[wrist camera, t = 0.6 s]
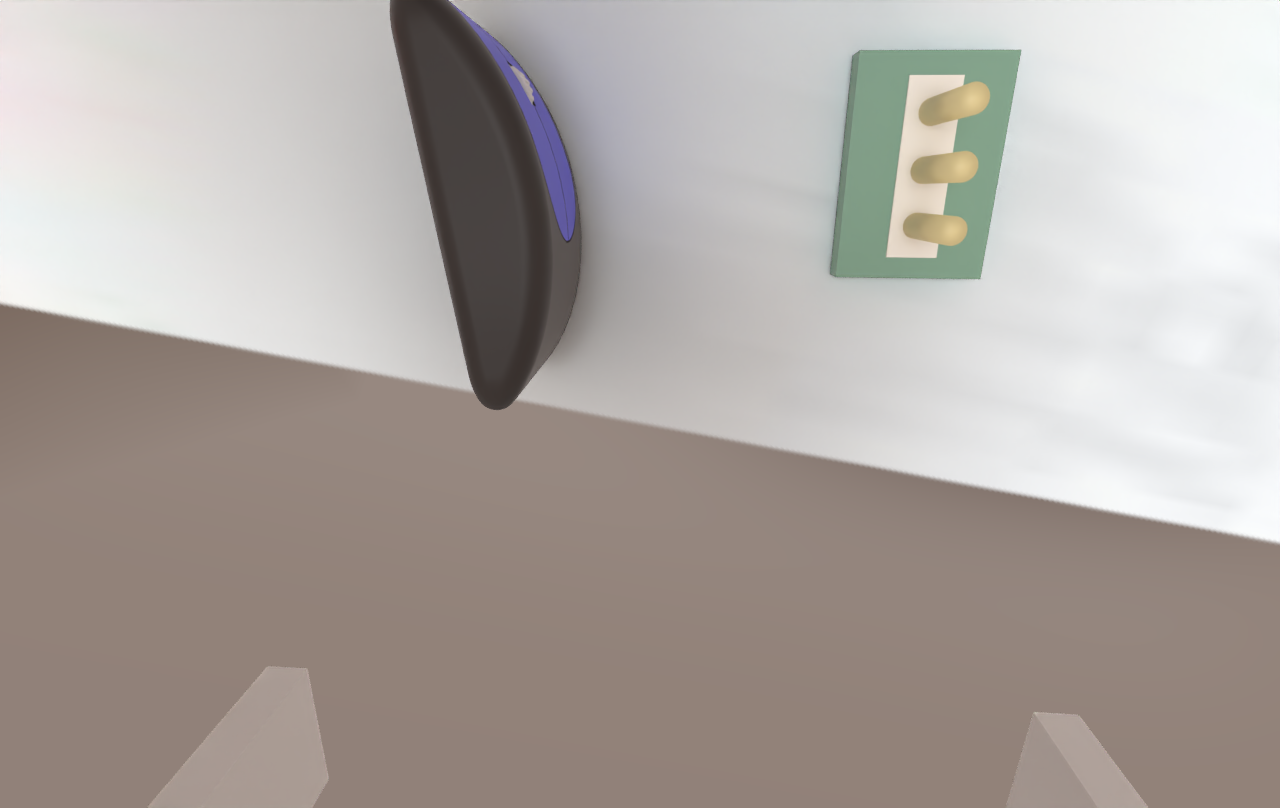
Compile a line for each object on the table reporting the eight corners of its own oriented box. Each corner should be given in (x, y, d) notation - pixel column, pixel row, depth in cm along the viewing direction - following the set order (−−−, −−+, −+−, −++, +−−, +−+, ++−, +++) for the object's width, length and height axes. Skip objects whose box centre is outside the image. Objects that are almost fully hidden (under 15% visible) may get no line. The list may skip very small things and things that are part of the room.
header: (853, 55, 29) (891, 26, 24) (1007, 55, 29) (1081, 24, 24) (830, 273, 32) (859, 290, 27) (969, 275, 32) (1026, 292, 27)
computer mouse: (604, 354, 35) (577, 411, 26) (522, 363, 35) (469, 422, 26) (553, 20, 30) (498, -53, 21) (459, 36, 30) (366, -30, 21)
